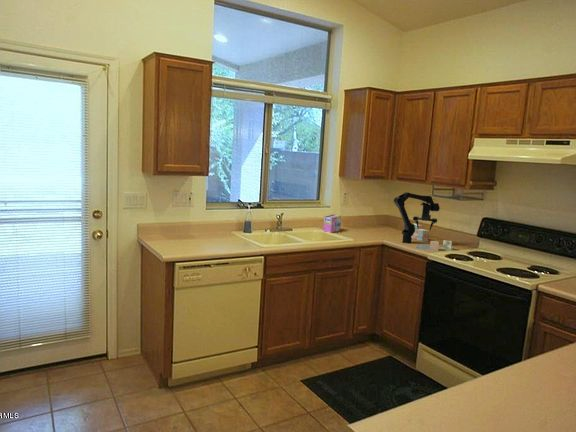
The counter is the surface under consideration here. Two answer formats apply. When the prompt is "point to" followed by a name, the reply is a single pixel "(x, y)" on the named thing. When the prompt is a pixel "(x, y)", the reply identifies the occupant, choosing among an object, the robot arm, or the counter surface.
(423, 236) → the stack of blocks
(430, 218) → the robot arm
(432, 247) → the terracotta block
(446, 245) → the maple block
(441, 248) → the teal pad
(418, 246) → the card
